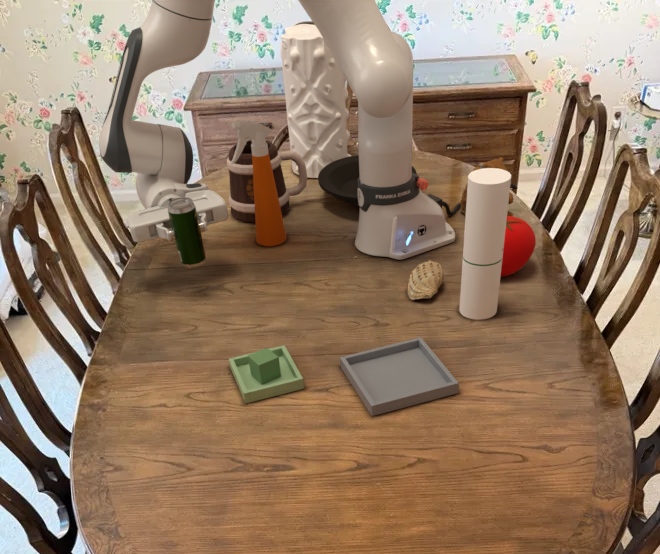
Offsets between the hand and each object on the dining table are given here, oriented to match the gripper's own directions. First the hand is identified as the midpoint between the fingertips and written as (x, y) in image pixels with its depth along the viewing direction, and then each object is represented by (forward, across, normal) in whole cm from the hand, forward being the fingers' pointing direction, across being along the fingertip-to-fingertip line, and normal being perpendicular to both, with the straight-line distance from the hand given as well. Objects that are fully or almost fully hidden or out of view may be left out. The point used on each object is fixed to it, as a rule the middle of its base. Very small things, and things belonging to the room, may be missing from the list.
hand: (187, 232), depth 141 cm
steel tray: (+47, +21, +14) cm, 54 cm away
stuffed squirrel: (-1, +69, +14) cm, 70 cm away
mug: (-32, +28, +14) cm, 45 cm away
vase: (-51, +49, +14) cm, 72 cm away
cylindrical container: (+34, +46, +14) cm, 59 cm away
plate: (-25, +51, +14) cm, 59 cm away
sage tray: (+35, +1, +13) cm, 38 cm away
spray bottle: (-16, +20, +14) cm, 29 cm away
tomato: (+22, +58, +14) cm, 64 cm away
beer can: (-1, 0, +7) cm, 7 cm away
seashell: (+23, +41, +14) cm, 49 cm away
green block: (+35, +1, +13) cm, 38 cm away
